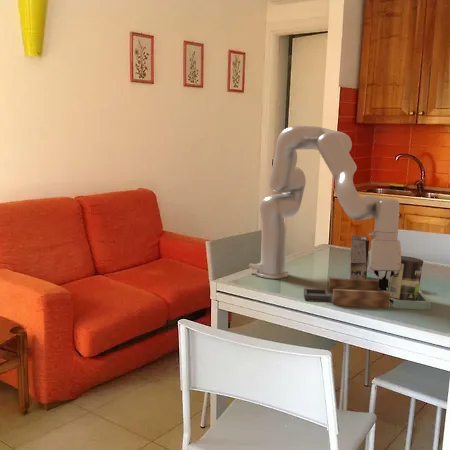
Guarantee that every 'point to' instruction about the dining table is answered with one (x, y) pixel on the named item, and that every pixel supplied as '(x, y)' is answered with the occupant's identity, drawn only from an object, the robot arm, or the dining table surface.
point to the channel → (358, 293)
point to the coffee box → (359, 257)
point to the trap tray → (316, 294)
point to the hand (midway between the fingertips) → (382, 289)
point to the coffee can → (406, 280)
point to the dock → (413, 303)
